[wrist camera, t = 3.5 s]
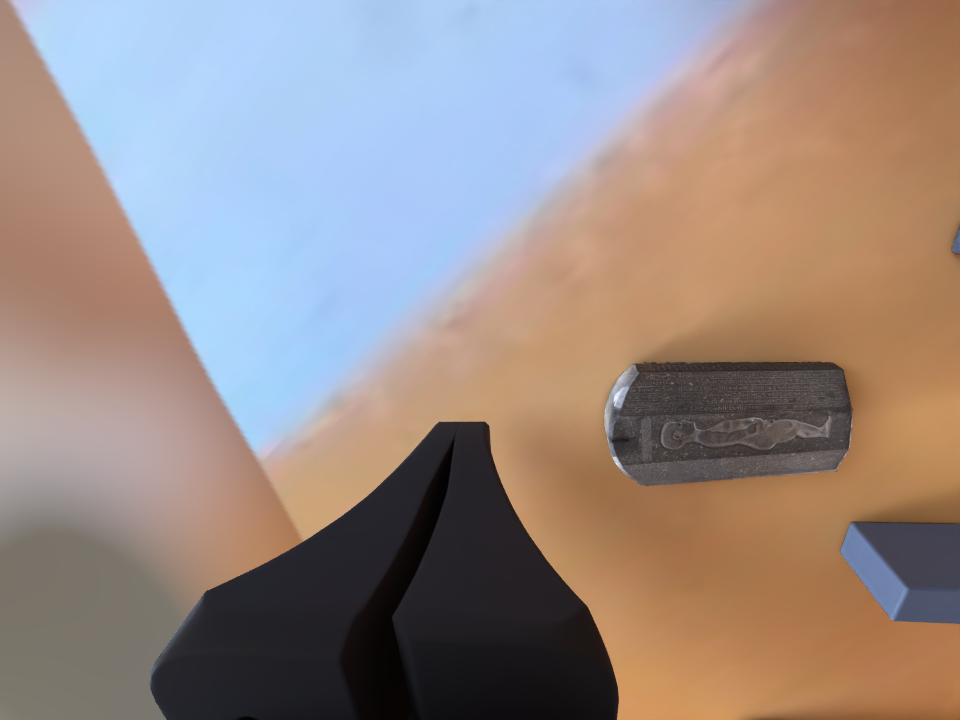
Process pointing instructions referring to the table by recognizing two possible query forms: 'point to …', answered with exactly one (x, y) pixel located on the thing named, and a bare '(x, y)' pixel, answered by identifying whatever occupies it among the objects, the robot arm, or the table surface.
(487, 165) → the table surface
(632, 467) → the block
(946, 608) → the bay
